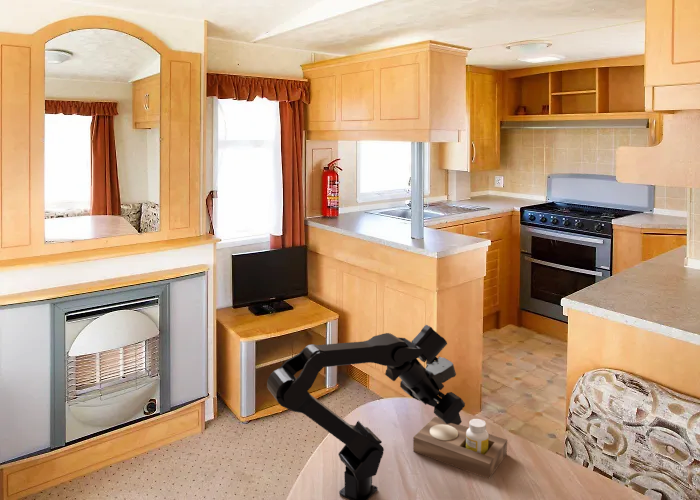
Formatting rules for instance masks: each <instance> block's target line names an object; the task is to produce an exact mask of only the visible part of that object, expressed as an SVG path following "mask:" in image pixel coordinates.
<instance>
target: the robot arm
mask: <svg viewBox="0 0 700 500" xmlns="http://www.w3.org/2000/svg"><path fill="white" fill-rule="evenodd" d="M447 345H448V342H447V340H446V339H445V337H443V336H441V335H440V334H439V333H438V332H437V331H435V330H434V329H433V328H432V327H431V326H430V325H428V324H425V325H424V326H423V327H422V328H421V330H420V332H418V334H416V336H415V337H414V338H413V339H412V340H411V341H410V340H408V339H407V338H405V337H399V336H398V337H397V336H396V335H395V334H393V333H390V332H385V333H382V334H378V335H374V336H372V337H371V338H369V339H368V340H364V341H352V342H351V341H350V342H341V343H339V342H337V343H326V344H325V343H324V344H308V345H306V346H305V347H304V348H303V349H302V350H301V351H300V352H299V353H297V354H295V355H294V356H292V357H290V358H288V359H287V360H285V362H283V364H282V365H281V366H279V368H277V369H275V370H273V371H272V373H270V374H269V376H268V377H267V381H266V388H267V390H268V392H270V394H271V395H272V396H273V398H274V399H275V400H276V402H277V403H278V404H279V405H280V406H281V407H283V408H284V409H287V410H289V411H291V412H294V413H300V414H303V415H304V416H306V417H308V418H309V419H310V420H311V421H313V422H314V423H316V424H317V425H319V426H320V427H321V428H322V429H324V430H325V431H326V432H328V434H331V435H332V436H333V437H334V438H336V439H338V441H340V442H341V443H342V444H344V446H343V447H342V449H341V450H340V451H339V452H338V457H339V460H340V461H341V462H342V463H343V464H344V466H345V471H343V472H344V476H343V477H344V486H343V488H342V489H340V490H339V492H338V493H339V495H340V496H342V497H344V498H347V499H348V500H369V499H370V498H371V497H372V496H373V495H374V494H375V493H376V492H377V491H378V487H377V486H376V485H374V484H373V477H375V476H376V475H377V474H378V470H379V468H380V464H381V461H382V458H383V456H384V451H385V449H384V446H383V445H382V440H381V439H380V438H379V437H378V436H377V435H376V434H375V433H374V432H373V431H372V430H371V429H370V428H369V427H368V426H364V424H362V423H361V421H359V420H357V422H356V423H355V425H354V424H353V425H352V424H350V423H348V422H347V420H345V419H344V418H342V417H341V416H340V415H338V414H337V413H335V412H334V411H333V410H332V409H330V408H329V407H328V406H327V405H325V404H324V403H323V402H321V401H320V400H319V399H317V398H316V397H315V396H313V395H312V394H311V393H310V392H309V390H310V389H311V388H312V386H313V384H314V382H315V380H316V379H317V377H318V375H319V373H320V372H321V370H323V368H328V367H329V368H330V367H331V368H332V367H340V366H350V365H357V364H358V365H359V364H368V363H370V364H376V365H381V366H384V367H386V370H385V373H384V375H385V376H386V377H387V378H389V379H390V380H392V381H393V382H395V381H396V380H397V379H398V378H399V379H400V380H401V381H400V382H399V383H400V386H399V387H400V389H401V390H403V392H405V393H406V394H407V395H409V396H410V397H411V398H412V399H415V400H417V401H419V402H421V403H423V404H424V405H425V406H426V405H428V406H431V407H433V409H434V410H433V414H434V415H435V417H438V418H440V419H441V420H442V421H443V422H445V423H446V424H450V423H453V424H456V425H459V424H460V425H461V423H462V419H461V416H460V413H461V412H462V410H463V409H464V408H465V407H466V402H465V401H464V400H463V399H462V398H461V396H460V397H459V395H457V394H456V393H454V392H452V391H449V392H447V393H445V394H444V393H443V392H442V389H444V387H445V386H444V384H443V383H446V382H447V381H449V380H451V379H452V378H455V377H456V376H457V373H456V370H455V366H454V362H452V361H451V360H449V359H447V358H445V357H442V356H438V355H439V354H440V353H441V352H442V350H443V349H444V348H445V347H446V346H447ZM437 356H438V357H437ZM420 361H421V362H423V363H425V364H426V366H425V367H424V365H423V364H422V363H421V362H420ZM300 371H301V372H300ZM298 372H300V373H299V376H295V375H296V374H297V373H298Z"/></svg>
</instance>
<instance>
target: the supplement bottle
mask: <svg viewBox="0 0 700 500" xmlns="http://www.w3.org/2000/svg"><path fill="white" fill-rule="evenodd" d="M468 424H469V425H468V427H469V428H468V429H467V431H466V449H469V450H472V451H475V452H478V453H481V454H484V455H485V454H486V453H487V451H488V438H489V435H488V434H489V432H488V431H487V422H486V421H485V420H484V419H480V418H472V419H470V420H469V423H468Z"/></svg>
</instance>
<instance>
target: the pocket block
mask: <svg viewBox="0 0 700 500" xmlns="http://www.w3.org/2000/svg"><path fill="white" fill-rule="evenodd" d="M468 428H469V426H465V425H463V424H461V423H460V424H459V425H456V424H453V423H450V424H446V423H445V422H443V421H442V420H441V419H440V418H438V417H437V416H434V417H433V418H432V419H430V421H429V422H428V423H427V424H426V425H424V426H423V427H422V428H421V429H420V430H419V431H418V432H417V433H416V434H415V435H414V436H413V439H412V441H413V446H412V447H413V448H412V449H413V452H415V453H416V454H417V453H418V454H420V455H422V456H425V457H429V458H430V459H434V460H437V461H439V462H442V463H444V464H447V465H449V466H452V467H455V468H458V469H461V470H462V471H466V472H468V473H471V474H475V475H477V476H479V477H482V478H484V479H487V480H489V479H490V478H492V475H493V474H494V472H495V471H496V470H497V468H498V467H499V465H500V464H501V463H502V461H503V460H504V459H505V457H507V453H508V439H506V438H504V437H499V436H497V435H493V434H490V433H488V435H489V438H488V451H487V453H486V454H485V455H484V454H481V453H478V452H475V451H472V450H469V449H466V431H467V429H468Z"/></svg>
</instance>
